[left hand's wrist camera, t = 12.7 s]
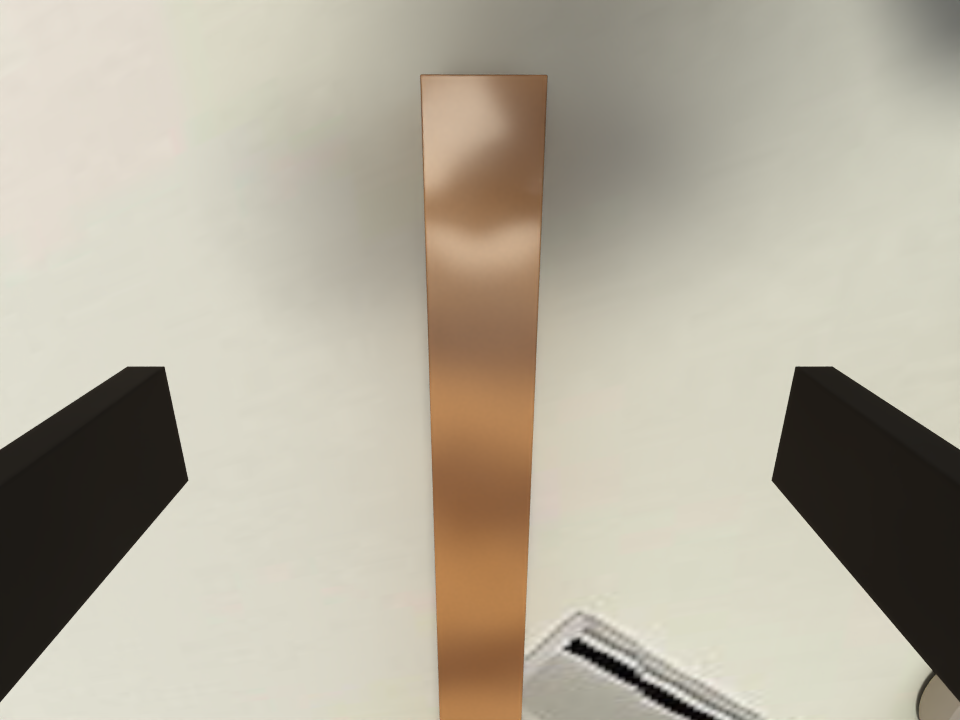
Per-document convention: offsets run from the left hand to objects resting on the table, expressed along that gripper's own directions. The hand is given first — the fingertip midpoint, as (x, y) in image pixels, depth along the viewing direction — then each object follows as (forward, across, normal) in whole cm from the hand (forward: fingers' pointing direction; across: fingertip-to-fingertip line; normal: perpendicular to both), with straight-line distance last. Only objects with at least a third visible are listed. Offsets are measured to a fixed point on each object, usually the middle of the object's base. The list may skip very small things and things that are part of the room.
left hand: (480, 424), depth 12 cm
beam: (+22, 0, -22) cm, 32 cm away
